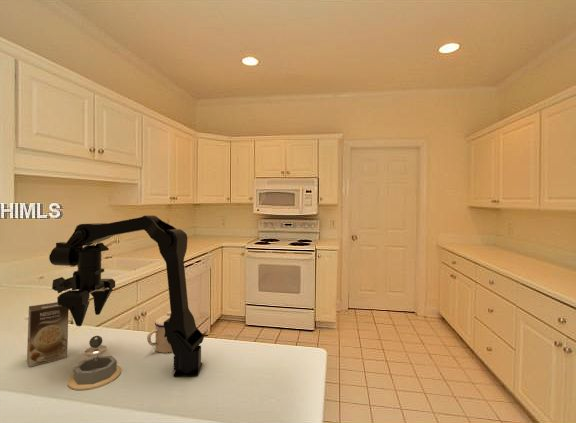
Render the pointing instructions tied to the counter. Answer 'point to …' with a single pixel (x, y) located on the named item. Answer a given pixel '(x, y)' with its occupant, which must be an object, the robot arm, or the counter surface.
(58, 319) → the coffee box
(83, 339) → the counter surface
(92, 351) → the plunger
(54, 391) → the counter surface
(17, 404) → the counter surface
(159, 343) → the teacup with lid
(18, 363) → the counter surface
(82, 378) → the grey bowl
